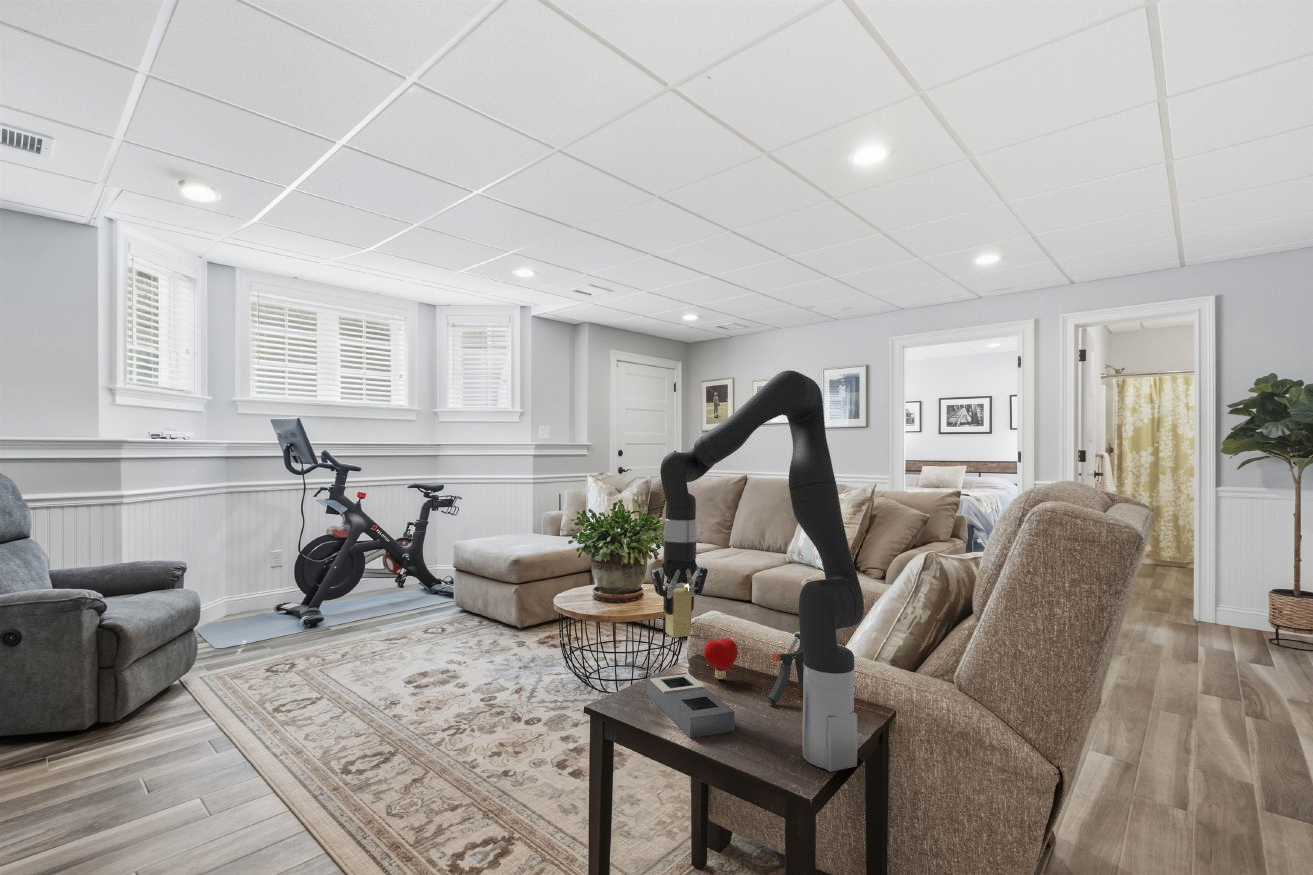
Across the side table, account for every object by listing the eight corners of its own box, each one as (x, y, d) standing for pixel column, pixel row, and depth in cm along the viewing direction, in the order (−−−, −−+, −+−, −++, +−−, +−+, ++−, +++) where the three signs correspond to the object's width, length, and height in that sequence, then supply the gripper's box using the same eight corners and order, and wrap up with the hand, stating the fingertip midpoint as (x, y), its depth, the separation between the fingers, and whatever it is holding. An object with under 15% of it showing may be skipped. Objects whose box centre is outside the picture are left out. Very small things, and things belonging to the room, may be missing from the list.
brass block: (690, 635, 140) (691, 591, 141) (672, 637, 139) (673, 592, 139) (682, 630, 145) (683, 587, 145) (665, 632, 143) (666, 588, 143)
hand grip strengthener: (765, 704, 141) (766, 637, 141) (804, 693, 147) (805, 630, 148) (772, 707, 139) (773, 640, 139) (811, 697, 145) (812, 632, 146)
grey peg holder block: (734, 730, 126) (734, 709, 126) (690, 738, 123) (690, 716, 123) (685, 689, 149) (685, 671, 149) (646, 694, 145) (647, 675, 145)
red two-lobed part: (712, 687, 150) (713, 646, 150) (697, 678, 156) (698, 638, 157) (743, 681, 155) (744, 641, 155) (727, 672, 161) (728, 634, 161)
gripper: (657, 541, 136) (655, 619, 136) (715, 539, 141) (713, 615, 141) (645, 537, 143) (643, 611, 143) (700, 535, 148) (699, 607, 148)
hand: (678, 612), depth 142 cm, fingers closed on brass block, 4 cm apart
